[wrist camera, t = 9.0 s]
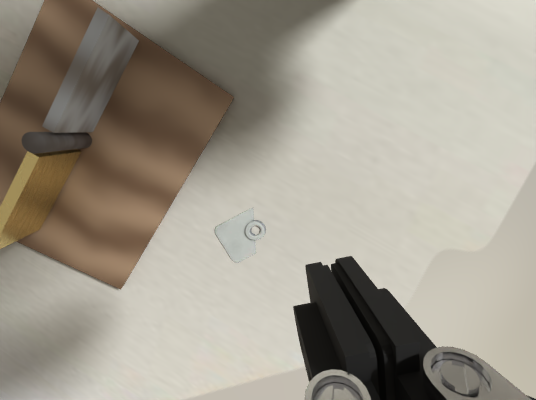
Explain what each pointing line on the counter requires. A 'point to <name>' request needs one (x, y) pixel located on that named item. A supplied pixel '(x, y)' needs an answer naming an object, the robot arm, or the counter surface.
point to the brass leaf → (34, 193)
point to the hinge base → (104, 133)
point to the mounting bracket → (240, 235)
